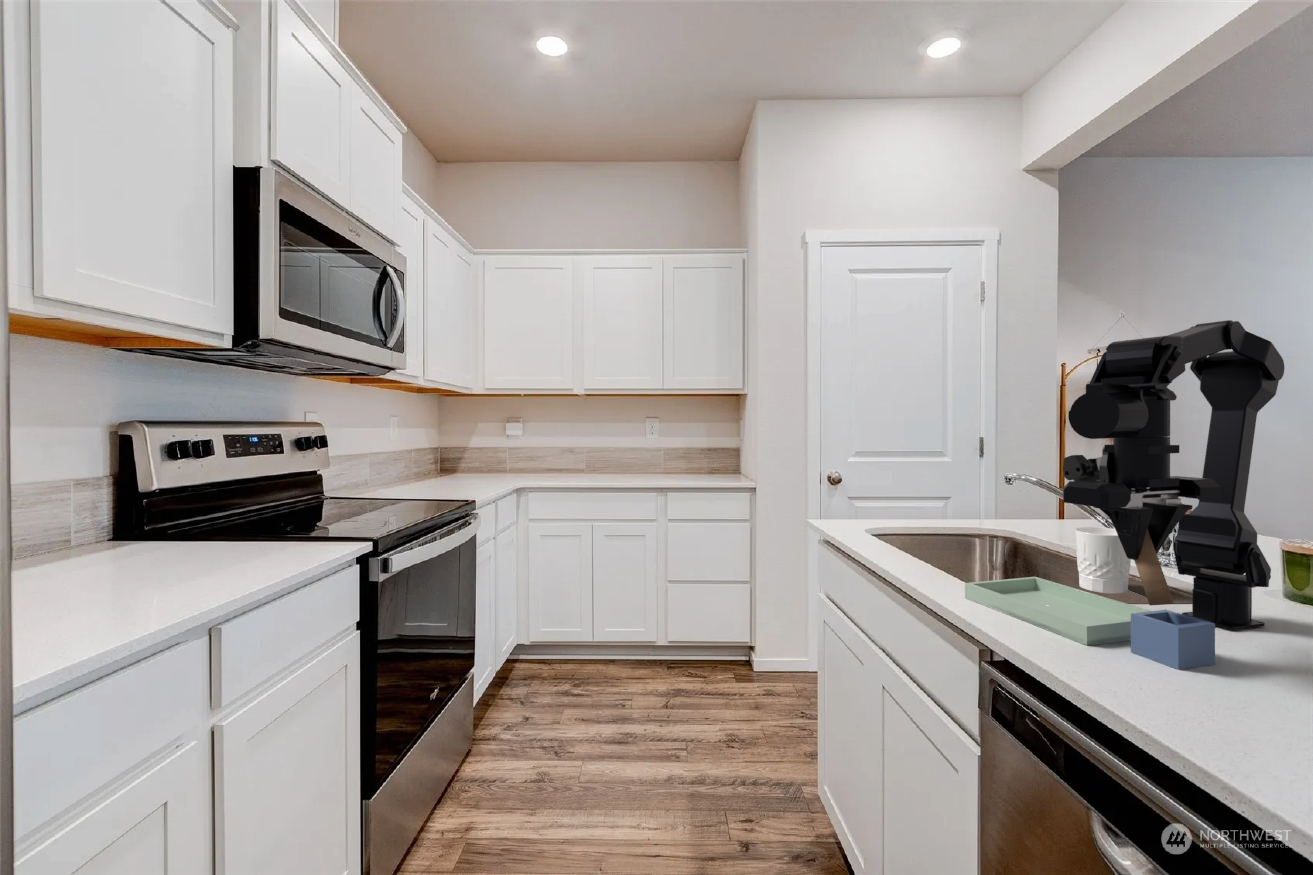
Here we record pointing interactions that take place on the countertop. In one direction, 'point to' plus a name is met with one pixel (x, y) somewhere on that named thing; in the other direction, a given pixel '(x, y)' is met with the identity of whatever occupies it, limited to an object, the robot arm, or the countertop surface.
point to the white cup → (1101, 560)
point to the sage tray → (1057, 608)
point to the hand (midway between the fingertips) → (1140, 558)
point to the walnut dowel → (1152, 574)
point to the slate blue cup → (1173, 639)
